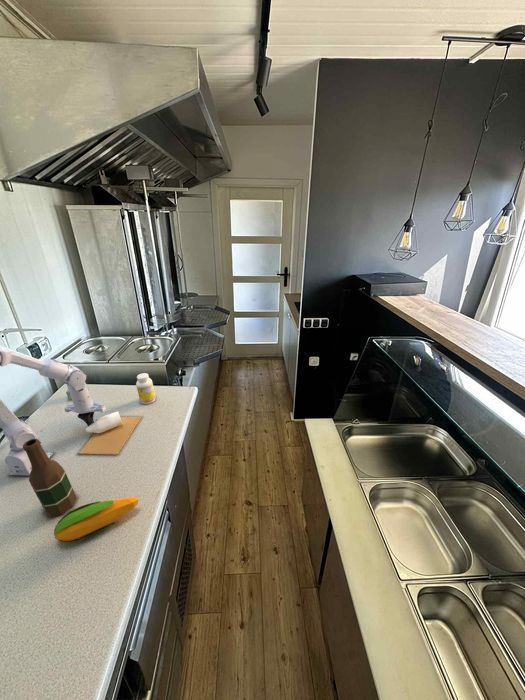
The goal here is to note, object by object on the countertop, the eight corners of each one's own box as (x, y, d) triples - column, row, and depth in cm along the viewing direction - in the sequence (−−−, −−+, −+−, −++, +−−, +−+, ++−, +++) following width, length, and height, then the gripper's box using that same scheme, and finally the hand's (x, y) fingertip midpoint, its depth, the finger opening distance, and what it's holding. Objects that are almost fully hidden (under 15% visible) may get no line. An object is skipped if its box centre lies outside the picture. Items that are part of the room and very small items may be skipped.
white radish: (86, 432, 110) (82, 420, 107) (119, 419, 116) (116, 408, 114) (89, 441, 106) (84, 429, 103) (123, 427, 112) (120, 415, 110)
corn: (50, 511, 73) (133, 478, 81) (60, 527, 77) (139, 495, 85) (47, 538, 67) (137, 500, 76) (58, 555, 71) (142, 517, 80)
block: (80, 398, 131) (77, 390, 129) (68, 400, 129) (65, 392, 127) (82, 393, 134) (79, 385, 132) (71, 394, 133) (68, 386, 131)
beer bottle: (61, 519, 79) (29, 456, 68) (38, 514, 80) (3, 451, 70) (83, 495, 86) (56, 433, 75) (61, 490, 87) (31, 430, 77)
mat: (117, 454, 100) (117, 454, 100) (78, 454, 100) (78, 453, 100) (141, 417, 118) (141, 416, 118) (108, 417, 118) (108, 416, 118)
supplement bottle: (139, 398, 130) (133, 373, 124) (155, 394, 133) (149, 370, 127) (141, 406, 125) (134, 381, 119) (156, 402, 127) (151, 377, 121)
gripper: (106, 390, 108) (115, 419, 114) (68, 390, 108) (79, 418, 114) (95, 402, 101) (105, 431, 108) (56, 402, 102) (68, 431, 108)
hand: (91, 425), depth 111 cm, fingers closed, pressing on white radish
